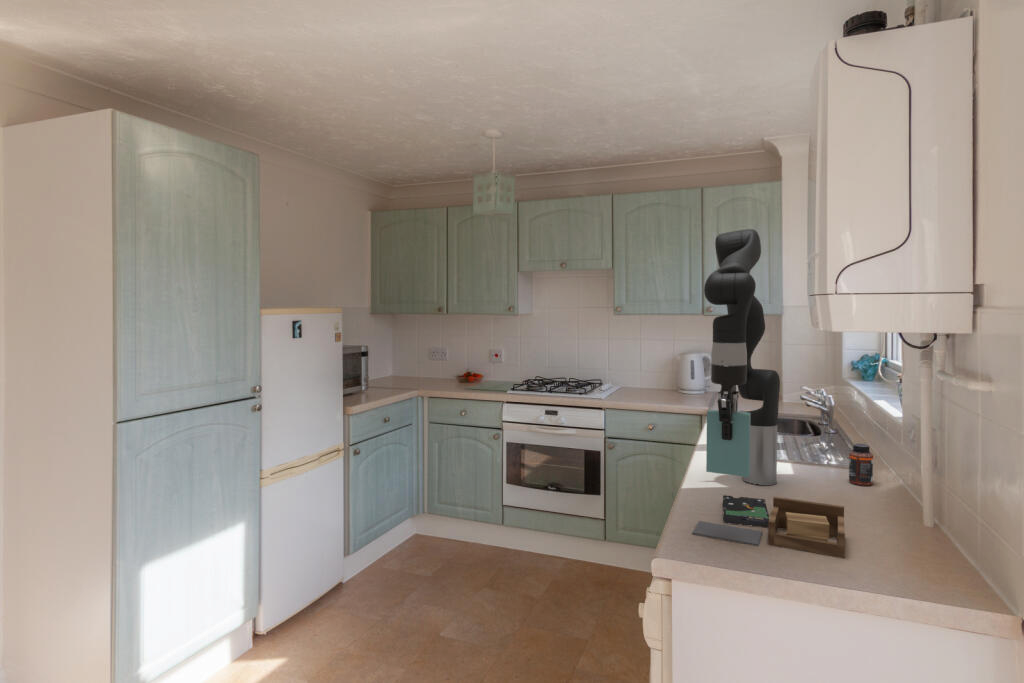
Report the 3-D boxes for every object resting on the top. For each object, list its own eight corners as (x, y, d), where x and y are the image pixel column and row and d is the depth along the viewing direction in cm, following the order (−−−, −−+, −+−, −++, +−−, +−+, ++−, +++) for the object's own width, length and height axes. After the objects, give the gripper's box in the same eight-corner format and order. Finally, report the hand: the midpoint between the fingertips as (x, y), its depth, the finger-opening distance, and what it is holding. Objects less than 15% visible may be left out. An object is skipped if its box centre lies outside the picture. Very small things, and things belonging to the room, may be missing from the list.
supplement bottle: (877, 485, 164) (878, 446, 163) (861, 487, 162) (862, 448, 162) (859, 479, 170) (860, 441, 169) (843, 481, 168) (844, 443, 167)
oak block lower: (786, 537, 129) (786, 524, 129) (826, 544, 126) (827, 530, 126) (785, 545, 125) (785, 532, 125) (827, 552, 121) (827, 539, 121)
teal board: (708, 469, 134) (708, 409, 133) (749, 474, 129) (750, 412, 128) (706, 471, 132) (706, 411, 131) (748, 477, 127) (749, 414, 126)
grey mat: (699, 522, 138) (699, 520, 138) (762, 533, 131) (762, 531, 131) (692, 534, 131) (692, 532, 131) (758, 546, 124) (758, 544, 124)
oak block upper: (785, 525, 129) (785, 512, 129) (825, 529, 126) (826, 516, 126) (787, 533, 124) (787, 519, 124) (829, 538, 121) (829, 524, 121)
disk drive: (722, 505, 152) (723, 525, 137) (722, 494, 151) (723, 513, 137) (764, 509, 148) (770, 529, 134) (764, 498, 148) (770, 518, 134)
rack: (773, 525, 136) (773, 496, 135) (843, 536, 128) (844, 506, 128) (768, 544, 125) (768, 512, 125) (844, 557, 118) (844, 524, 118)
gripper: (717, 359, 137) (716, 430, 138) (705, 364, 125) (704, 443, 126) (750, 360, 133) (749, 433, 134) (742, 366, 121) (741, 446, 122)
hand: (728, 437), depth 130 cm, fingers closed on teal board, 2 cm apart
